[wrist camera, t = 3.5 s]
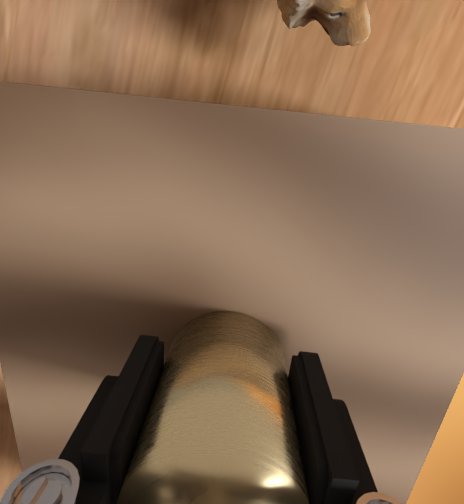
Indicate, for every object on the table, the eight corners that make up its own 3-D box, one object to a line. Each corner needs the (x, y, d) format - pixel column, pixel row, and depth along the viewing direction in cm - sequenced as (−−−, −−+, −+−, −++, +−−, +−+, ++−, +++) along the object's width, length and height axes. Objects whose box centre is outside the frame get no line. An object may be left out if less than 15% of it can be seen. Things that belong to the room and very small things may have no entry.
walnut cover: (332, 364, 24) (468, 728, 9) (116, 342, 24) (-83, 670, 9) (392, 133, 18) (973, 151, 4) (107, 104, 18) (-436, 8, 4)
